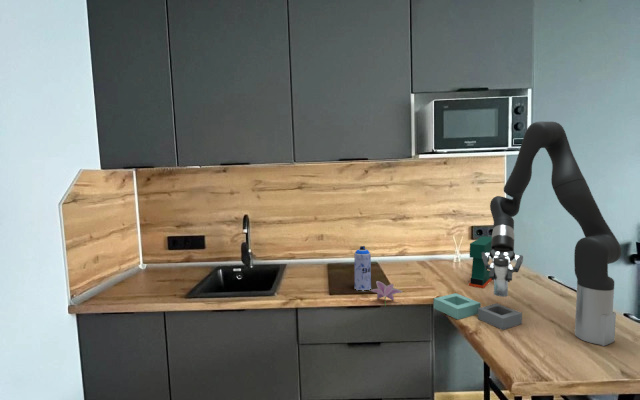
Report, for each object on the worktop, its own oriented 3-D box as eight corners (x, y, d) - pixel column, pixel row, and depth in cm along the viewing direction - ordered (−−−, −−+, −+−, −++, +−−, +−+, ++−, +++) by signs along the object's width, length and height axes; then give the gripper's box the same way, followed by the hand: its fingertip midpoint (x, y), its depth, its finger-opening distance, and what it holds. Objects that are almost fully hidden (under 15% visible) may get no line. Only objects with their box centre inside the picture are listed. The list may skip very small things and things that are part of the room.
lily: (406, 307, 142) (404, 283, 146) (391, 303, 134) (389, 278, 138) (381, 309, 149) (380, 286, 153) (365, 306, 141) (364, 282, 145)
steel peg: (511, 295, 122) (511, 259, 121) (502, 297, 120) (502, 261, 119) (499, 291, 127) (499, 256, 126) (490, 293, 125) (490, 258, 124)
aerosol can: (360, 292, 156) (360, 248, 155) (351, 287, 163) (350, 245, 162) (374, 289, 160) (374, 246, 158) (364, 284, 167) (364, 243, 165)
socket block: (521, 323, 122) (522, 312, 122) (502, 329, 118) (503, 318, 118) (496, 313, 131) (496, 303, 131) (477, 318, 127) (478, 308, 126)
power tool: (485, 269, 187) (486, 233, 186) (499, 271, 183) (500, 234, 181) (467, 285, 163) (468, 243, 161) (483, 288, 158) (484, 245, 157)
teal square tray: (480, 313, 132) (480, 303, 131) (457, 319, 127) (457, 309, 126) (455, 302, 142) (455, 293, 142) (433, 308, 137) (433, 298, 137)
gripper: (481, 232, 132) (477, 272, 123) (524, 235, 125) (524, 277, 115) (482, 244, 137) (479, 282, 127) (524, 246, 130) (524, 288, 120)
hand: (500, 279), depth 121 cm, fingers closed on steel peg, 4 cm apart
